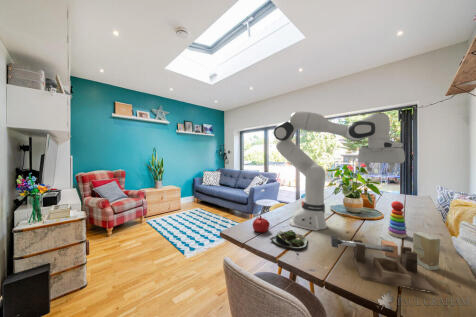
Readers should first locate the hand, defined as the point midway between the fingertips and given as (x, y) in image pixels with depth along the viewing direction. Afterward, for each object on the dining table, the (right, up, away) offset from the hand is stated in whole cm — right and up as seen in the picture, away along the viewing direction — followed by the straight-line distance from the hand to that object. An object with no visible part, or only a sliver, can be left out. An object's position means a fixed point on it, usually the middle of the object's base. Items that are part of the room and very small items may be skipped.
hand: (379, 171), depth 90 cm
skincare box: (+3, -36, -20) cm, 41 cm away
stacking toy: (+15, -36, +6) cm, 39 cm away
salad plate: (-46, -37, +1) cm, 59 cm away
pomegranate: (-59, -37, +15) cm, 71 cm away
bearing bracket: (-16, -36, -24) cm, 47 cm away
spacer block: (-5, -36, -11) cm, 38 cm away
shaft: (-22, -31, -17) cm, 42 cm away
